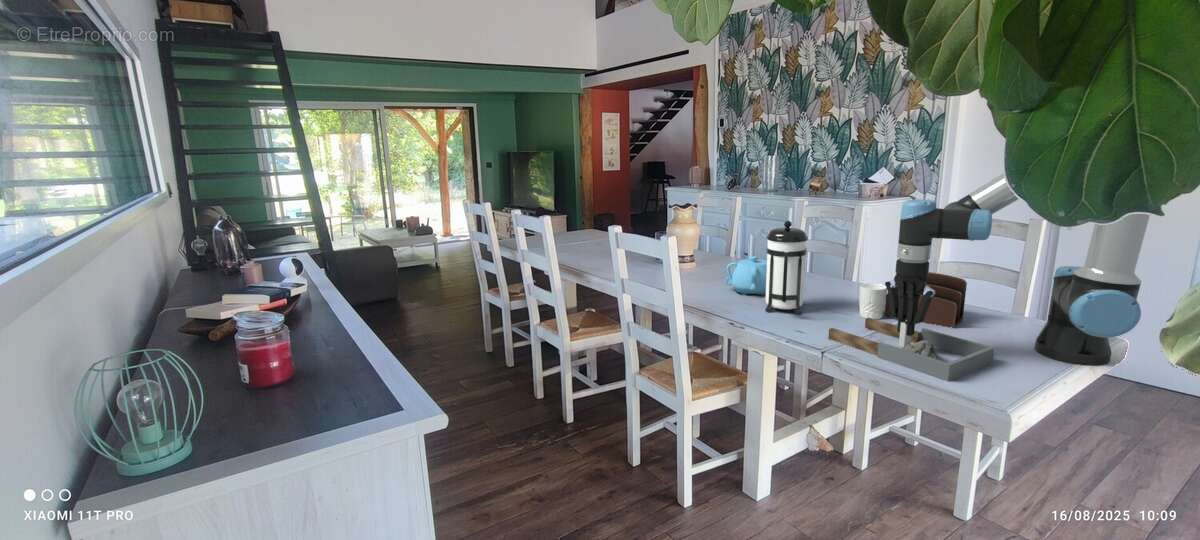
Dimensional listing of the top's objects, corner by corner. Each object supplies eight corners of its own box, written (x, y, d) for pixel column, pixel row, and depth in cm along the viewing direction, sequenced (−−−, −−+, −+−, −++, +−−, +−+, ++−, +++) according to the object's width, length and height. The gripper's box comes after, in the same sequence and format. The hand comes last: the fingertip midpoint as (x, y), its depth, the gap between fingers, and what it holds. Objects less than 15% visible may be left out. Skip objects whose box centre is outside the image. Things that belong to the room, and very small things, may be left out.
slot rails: (920, 342, 156) (921, 332, 156) (879, 356, 148) (880, 345, 147) (867, 327, 170) (868, 317, 169) (828, 338, 161) (828, 328, 160)
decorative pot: (755, 284, 222) (756, 250, 219) (784, 293, 208) (785, 257, 205) (721, 290, 216) (722, 255, 213) (749, 299, 201) (750, 262, 198)
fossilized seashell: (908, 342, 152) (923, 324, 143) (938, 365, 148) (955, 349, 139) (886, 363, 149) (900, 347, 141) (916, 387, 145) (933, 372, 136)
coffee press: (749, 306, 193) (751, 220, 186) (786, 300, 199) (790, 216, 192) (782, 320, 178) (787, 227, 171) (822, 313, 183) (828, 222, 177)
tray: (992, 362, 142) (994, 347, 141) (947, 381, 132) (949, 365, 131) (922, 341, 157) (923, 328, 156) (877, 357, 147) (878, 342, 146)
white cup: (878, 312, 183) (881, 282, 181) (888, 320, 175) (891, 289, 173) (853, 312, 184) (856, 283, 182) (862, 320, 176) (864, 289, 174)
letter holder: (894, 308, 187) (898, 267, 184) (963, 321, 173) (968, 276, 170) (883, 315, 180) (887, 273, 177) (954, 329, 167) (960, 283, 163)
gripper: (880, 257, 149) (873, 341, 155) (929, 266, 138) (919, 356, 144) (898, 253, 153) (890, 335, 158) (946, 262, 142) (936, 349, 147)
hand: (904, 345), depth 151 cm, fingers closed
